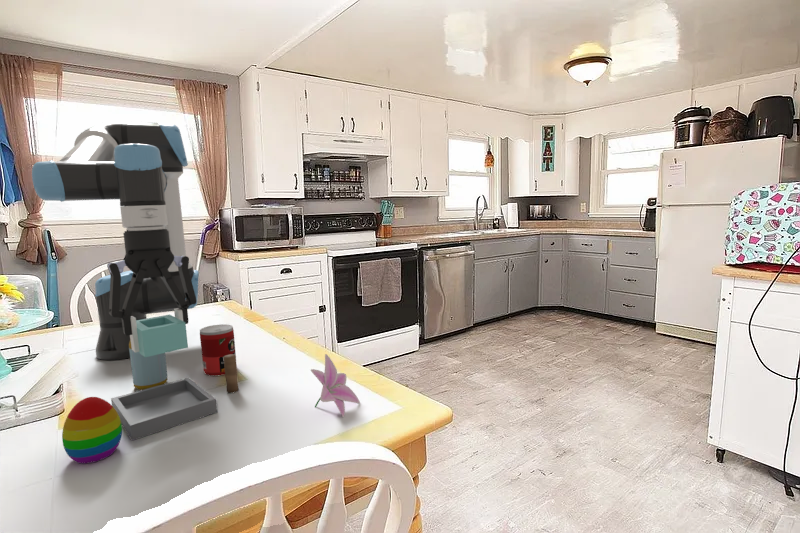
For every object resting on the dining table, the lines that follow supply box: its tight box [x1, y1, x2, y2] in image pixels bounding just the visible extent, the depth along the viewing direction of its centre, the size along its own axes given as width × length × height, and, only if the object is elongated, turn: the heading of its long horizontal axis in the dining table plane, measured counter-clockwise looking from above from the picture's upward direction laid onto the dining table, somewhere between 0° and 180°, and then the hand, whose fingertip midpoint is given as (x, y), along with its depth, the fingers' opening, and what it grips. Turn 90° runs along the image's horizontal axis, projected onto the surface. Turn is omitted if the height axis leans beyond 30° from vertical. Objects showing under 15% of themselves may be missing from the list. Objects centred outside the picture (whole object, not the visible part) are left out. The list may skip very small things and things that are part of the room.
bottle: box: [129, 339, 169, 391], centre depth 104 cm, size 7×7×15 cm
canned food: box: [199, 323, 237, 377], centre depth 112 cm, size 8×8×11 cm
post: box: [224, 354, 240, 394], centre depth 99 cm, size 2×2×8 cm
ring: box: [136, 314, 189, 357], centre depth 88 cm, size 8×12×5 cm, turn 43°
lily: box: [310, 353, 361, 418], centre depth 89 cm, size 12×12×10 cm
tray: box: [110, 377, 218, 441], centre depth 90 cm, size 16×15×3 cm
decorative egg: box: [61, 396, 123, 464], centre depth 74 cm, size 8×8×10 cm
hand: (159, 345), depth 88 cm, fingers closed on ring, 7 cm apart
